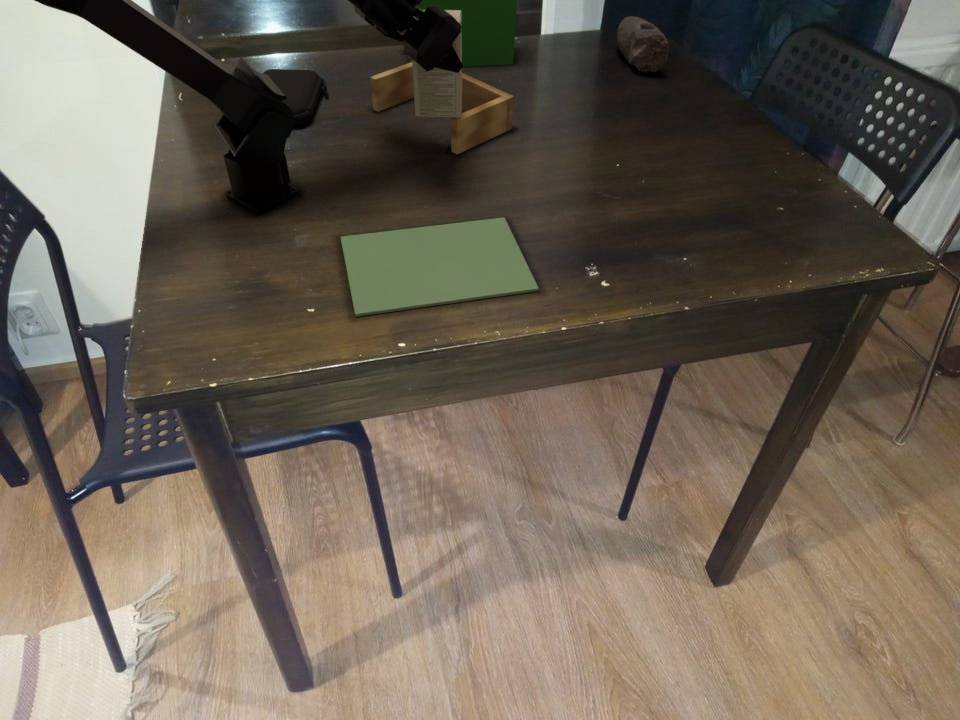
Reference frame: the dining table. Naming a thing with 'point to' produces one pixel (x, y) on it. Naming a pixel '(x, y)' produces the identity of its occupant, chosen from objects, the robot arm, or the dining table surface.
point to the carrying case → (298, 90)
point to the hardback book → (483, 29)
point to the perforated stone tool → (642, 44)
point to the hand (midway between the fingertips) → (447, 59)
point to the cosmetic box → (439, 85)
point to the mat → (434, 266)
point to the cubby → (480, 102)
